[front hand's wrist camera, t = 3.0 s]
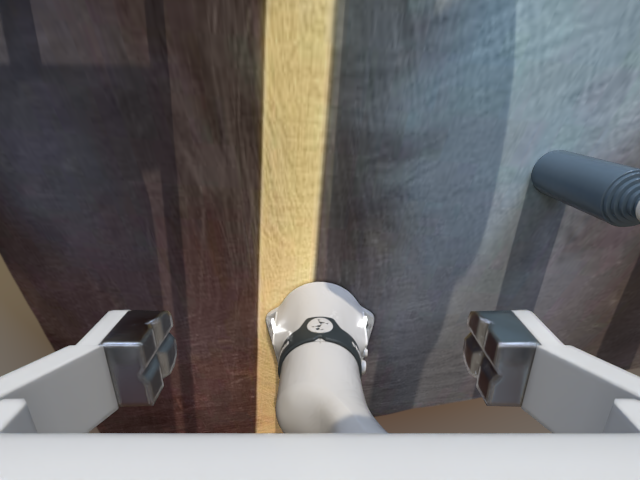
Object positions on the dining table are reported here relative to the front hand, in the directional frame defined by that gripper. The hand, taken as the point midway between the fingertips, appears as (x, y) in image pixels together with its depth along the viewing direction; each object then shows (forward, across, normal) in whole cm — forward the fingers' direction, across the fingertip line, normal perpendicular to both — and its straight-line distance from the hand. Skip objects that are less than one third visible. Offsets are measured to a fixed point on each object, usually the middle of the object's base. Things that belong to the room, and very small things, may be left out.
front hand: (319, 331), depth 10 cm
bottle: (+48, +35, -5) cm, 60 cm away
